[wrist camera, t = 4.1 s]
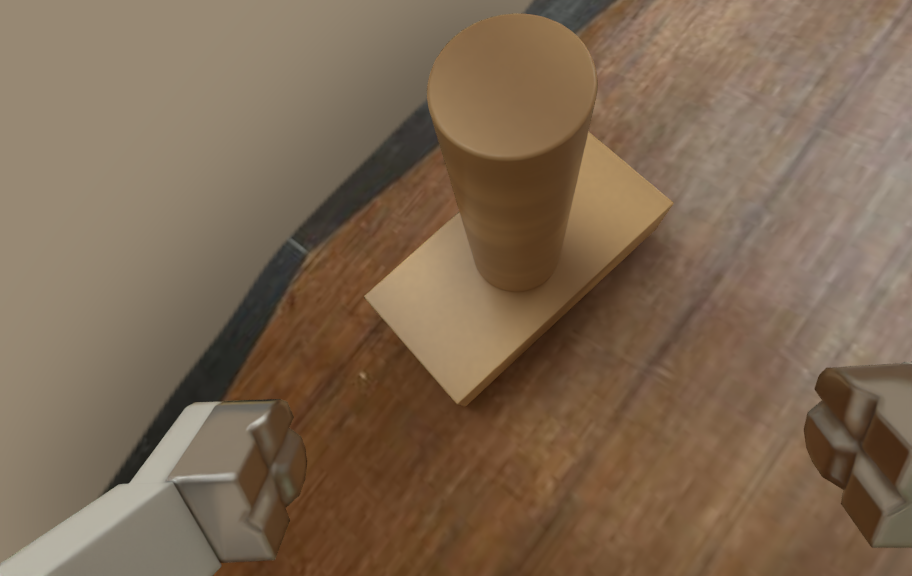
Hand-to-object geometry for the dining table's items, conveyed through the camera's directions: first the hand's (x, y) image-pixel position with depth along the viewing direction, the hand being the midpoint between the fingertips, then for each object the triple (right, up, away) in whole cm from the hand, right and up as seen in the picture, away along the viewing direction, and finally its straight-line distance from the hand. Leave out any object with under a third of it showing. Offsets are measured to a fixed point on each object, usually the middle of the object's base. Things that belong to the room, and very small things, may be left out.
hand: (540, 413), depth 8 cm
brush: (+1, +3, +12) cm, 13 cm away
